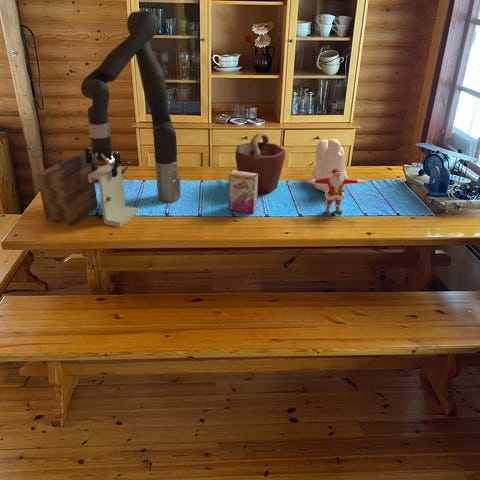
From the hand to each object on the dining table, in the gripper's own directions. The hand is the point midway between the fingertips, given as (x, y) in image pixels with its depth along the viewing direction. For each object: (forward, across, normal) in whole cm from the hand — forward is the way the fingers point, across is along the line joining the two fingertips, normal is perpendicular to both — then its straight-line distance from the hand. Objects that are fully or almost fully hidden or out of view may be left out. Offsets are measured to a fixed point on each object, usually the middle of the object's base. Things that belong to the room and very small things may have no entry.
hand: (105, 175), depth 187 cm
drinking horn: (+18, +25, -32) cm, 44 cm away
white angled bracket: (+18, -3, 0) cm, 18 cm away
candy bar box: (+17, -49, -25) cm, 58 cm away
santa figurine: (+17, -85, -38) cm, 94 cm away
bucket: (+17, -47, -51) cm, 71 cm away
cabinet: (+18, +15, +4) cm, 24 cm away
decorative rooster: (+17, -78, -64) cm, 102 cm away
